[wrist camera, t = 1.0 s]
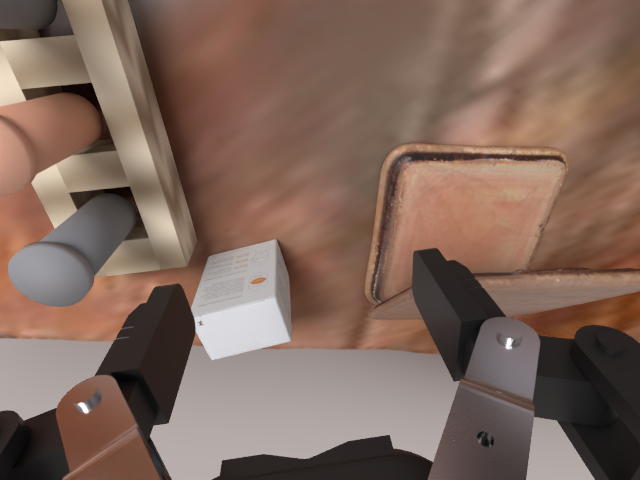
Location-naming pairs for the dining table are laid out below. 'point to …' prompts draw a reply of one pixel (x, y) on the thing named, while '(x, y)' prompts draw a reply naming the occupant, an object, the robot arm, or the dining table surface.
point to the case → (477, 228)
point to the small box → (243, 301)
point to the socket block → (124, 125)
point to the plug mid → (43, 136)
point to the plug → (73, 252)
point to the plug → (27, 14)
